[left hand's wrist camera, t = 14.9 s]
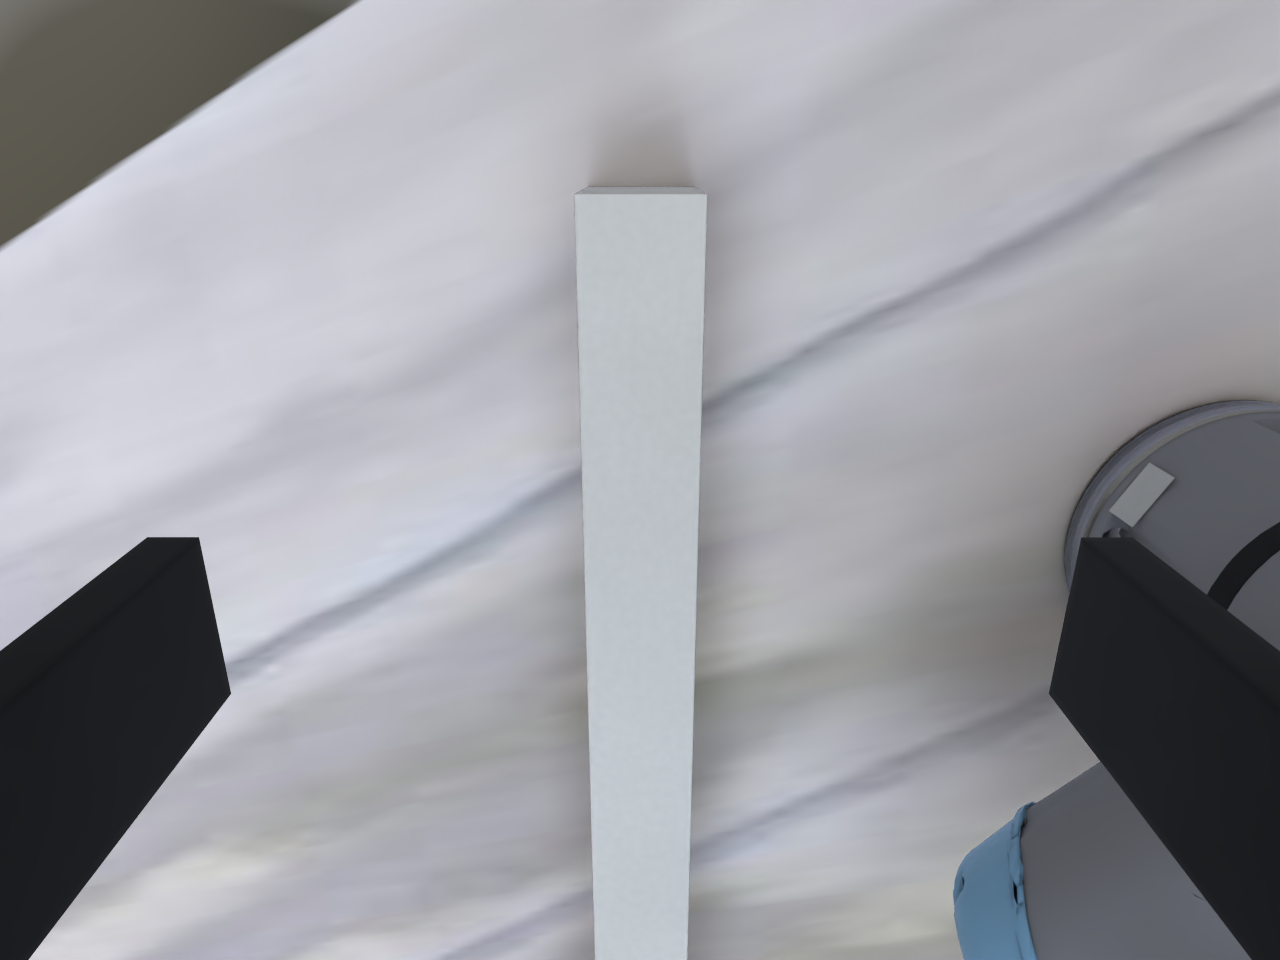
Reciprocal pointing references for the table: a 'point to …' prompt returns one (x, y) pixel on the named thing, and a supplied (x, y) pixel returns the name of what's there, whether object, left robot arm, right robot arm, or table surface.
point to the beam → (640, 550)
